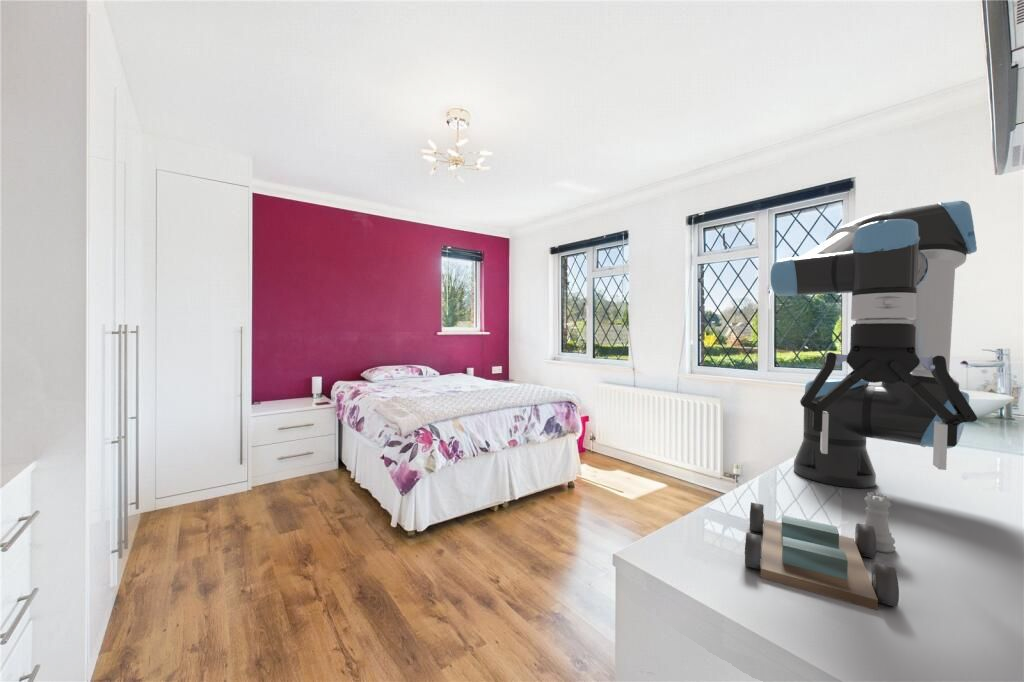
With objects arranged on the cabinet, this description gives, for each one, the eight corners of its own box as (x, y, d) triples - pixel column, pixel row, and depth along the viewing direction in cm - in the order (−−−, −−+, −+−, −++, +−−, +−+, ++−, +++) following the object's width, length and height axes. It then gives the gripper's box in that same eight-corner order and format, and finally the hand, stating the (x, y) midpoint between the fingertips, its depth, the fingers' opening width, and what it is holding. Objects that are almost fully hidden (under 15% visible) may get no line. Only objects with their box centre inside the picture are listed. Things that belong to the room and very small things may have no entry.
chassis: (750, 523, 72) (751, 498, 72) (870, 549, 64) (871, 521, 63) (743, 572, 57) (744, 540, 57) (900, 616, 48) (901, 579, 48)
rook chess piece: (903, 555, 62) (904, 502, 62) (869, 552, 63) (870, 499, 63) (883, 541, 66) (884, 491, 66) (851, 537, 67) (852, 489, 67)
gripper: (786, 322, 68) (782, 451, 68) (1014, 321, 54) (1009, 482, 54) (785, 323, 74) (782, 441, 74) (989, 323, 61) (984, 467, 61)
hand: (878, 459), depth 64 cm, fingers open, 13 cm apart
